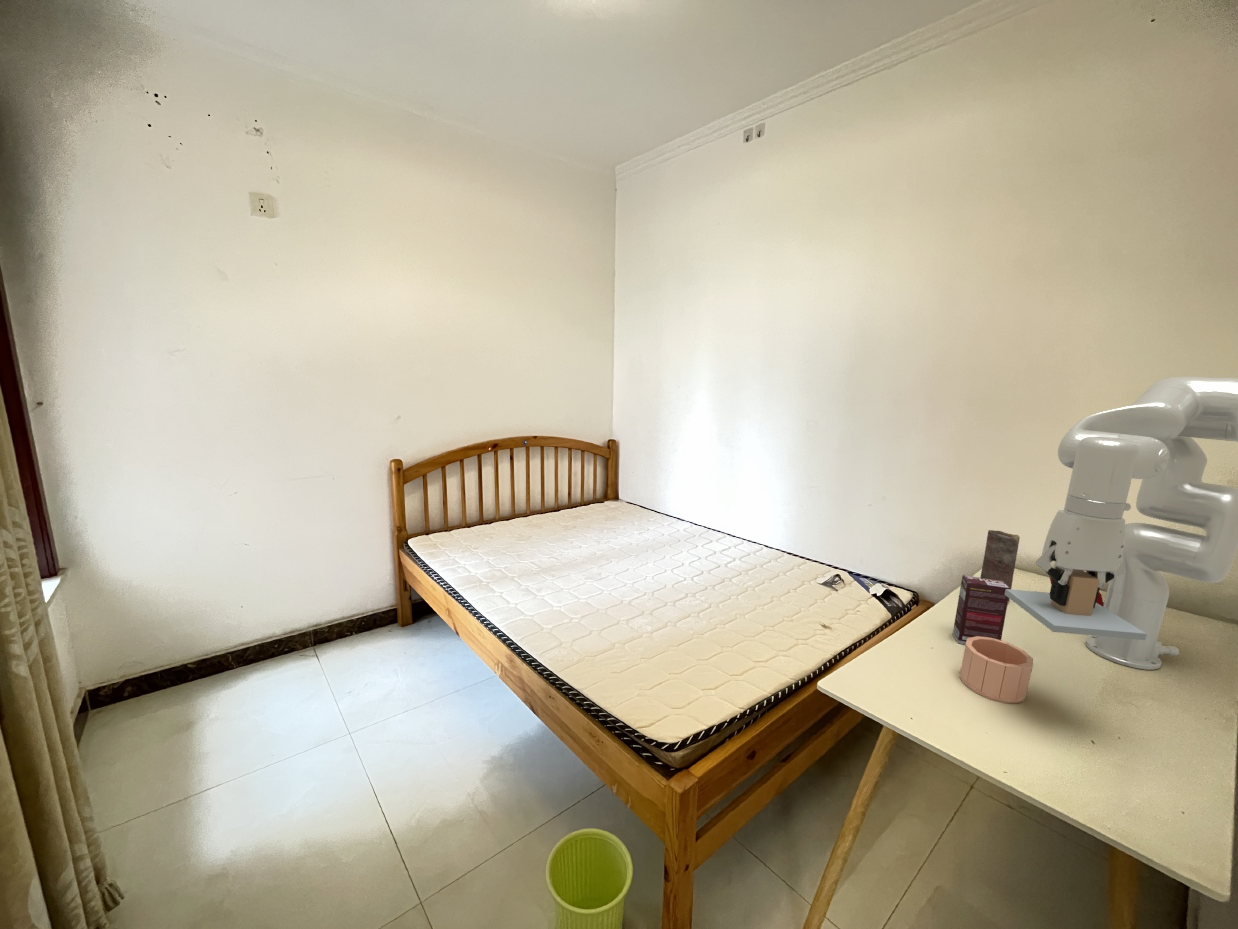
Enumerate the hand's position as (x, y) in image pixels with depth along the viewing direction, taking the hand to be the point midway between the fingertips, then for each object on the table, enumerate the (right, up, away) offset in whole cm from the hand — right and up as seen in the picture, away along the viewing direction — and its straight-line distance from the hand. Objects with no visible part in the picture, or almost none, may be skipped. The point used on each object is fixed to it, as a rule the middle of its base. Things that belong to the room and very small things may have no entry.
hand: (1071, 602), depth 91 cm
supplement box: (+3, -18, +29) cm, 34 cm away
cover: (0, -3, +1) cm, 3 cm away
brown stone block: (+25, -13, +52) cm, 59 cm away
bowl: (-5, -21, +13) cm, 25 cm away
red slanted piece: (+48, -15, +51) cm, 71 cm away
